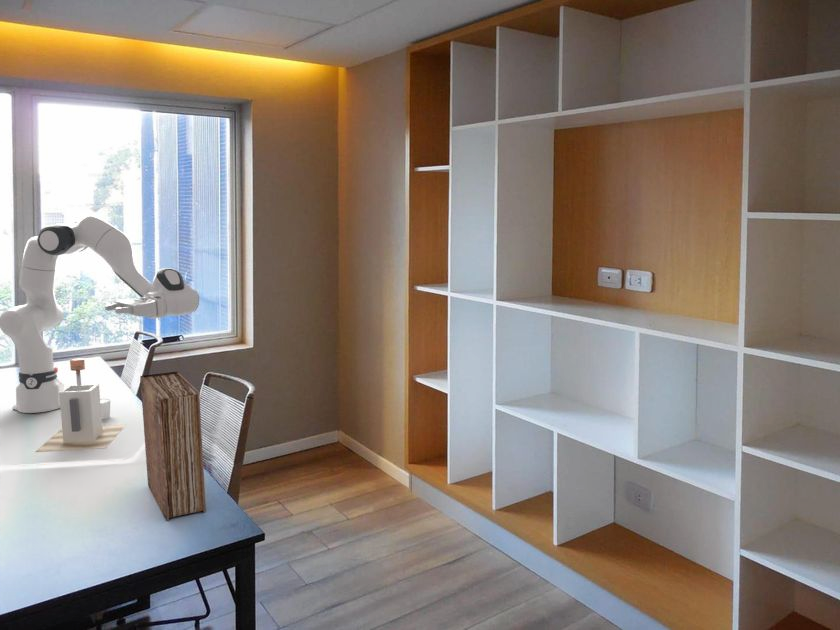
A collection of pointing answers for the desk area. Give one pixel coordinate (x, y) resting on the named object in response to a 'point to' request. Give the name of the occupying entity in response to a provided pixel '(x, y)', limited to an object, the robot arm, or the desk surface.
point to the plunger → (77, 370)
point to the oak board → (99, 443)
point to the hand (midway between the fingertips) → (110, 309)
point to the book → (173, 443)
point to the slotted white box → (80, 413)
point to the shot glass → (105, 408)
